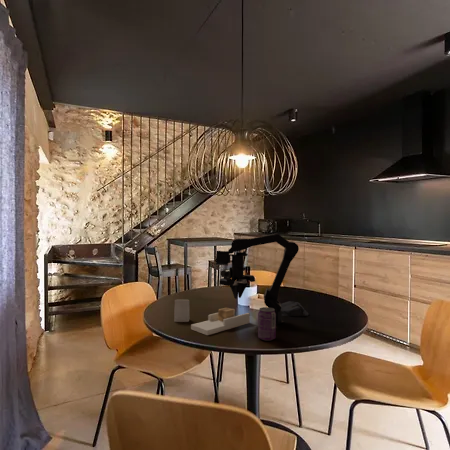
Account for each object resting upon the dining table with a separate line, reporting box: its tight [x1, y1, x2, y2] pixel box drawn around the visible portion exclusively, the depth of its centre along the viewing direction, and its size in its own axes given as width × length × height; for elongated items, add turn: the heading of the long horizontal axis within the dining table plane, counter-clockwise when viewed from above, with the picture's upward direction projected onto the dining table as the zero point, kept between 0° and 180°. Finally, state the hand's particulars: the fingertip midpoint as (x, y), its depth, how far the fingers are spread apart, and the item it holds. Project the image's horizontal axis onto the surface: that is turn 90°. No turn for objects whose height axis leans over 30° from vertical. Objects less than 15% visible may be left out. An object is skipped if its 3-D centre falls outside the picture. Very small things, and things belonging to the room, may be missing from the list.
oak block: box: [217, 307, 235, 321], centre depth 157 cm, size 5×5×5 cm
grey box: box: [173, 299, 190, 323], centre depth 163 cm, size 4×7×10 cm, turn 90°
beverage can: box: [257, 306, 277, 342], centre depth 138 cm, size 7×7×12 cm
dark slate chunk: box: [280, 300, 310, 317], centre depth 182 cm, size 15×22×5 cm
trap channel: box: [190, 308, 251, 336], centre depth 155 cm, size 11×26×4 cm, turn 133°
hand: (237, 298), depth 162 cm, fingers open, 2 cm apart
